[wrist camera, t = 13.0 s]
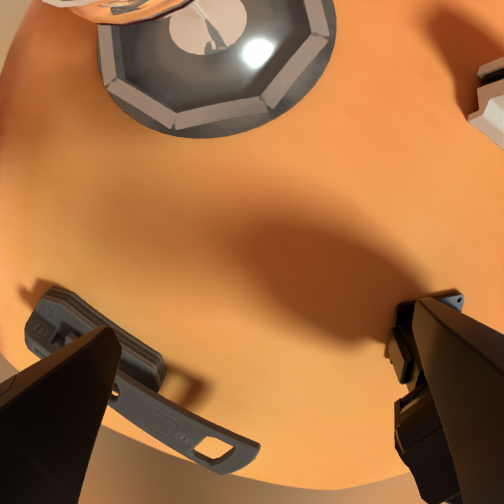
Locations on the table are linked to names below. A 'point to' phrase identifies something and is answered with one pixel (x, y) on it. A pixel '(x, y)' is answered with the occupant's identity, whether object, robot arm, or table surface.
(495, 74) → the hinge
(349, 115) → the table surface
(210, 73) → the rosette plate
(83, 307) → the zipper pull
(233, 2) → the wineglass
